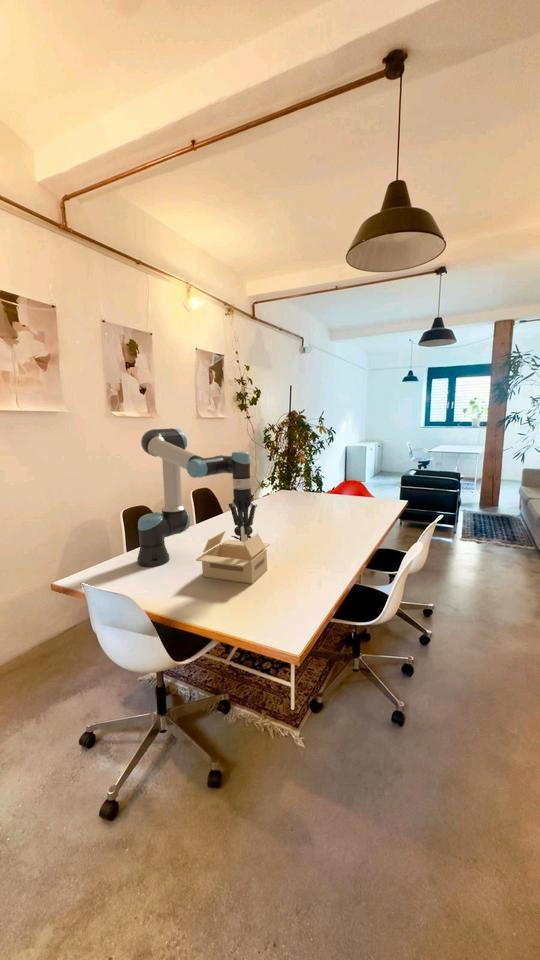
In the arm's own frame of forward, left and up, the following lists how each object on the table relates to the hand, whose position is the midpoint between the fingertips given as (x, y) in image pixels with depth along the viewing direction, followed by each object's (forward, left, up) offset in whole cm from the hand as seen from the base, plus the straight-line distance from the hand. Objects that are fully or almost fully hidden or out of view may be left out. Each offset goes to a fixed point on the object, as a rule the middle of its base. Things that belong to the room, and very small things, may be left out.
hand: (244, 541), depth 166 cm
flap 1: (-17, 0, -5) cm, 17 cm away
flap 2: (+7, 0, -5) cm, 8 cm away
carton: (-5, 0, -16) cm, 16 cm away
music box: (-13, +25, -16) cm, 32 cm away
